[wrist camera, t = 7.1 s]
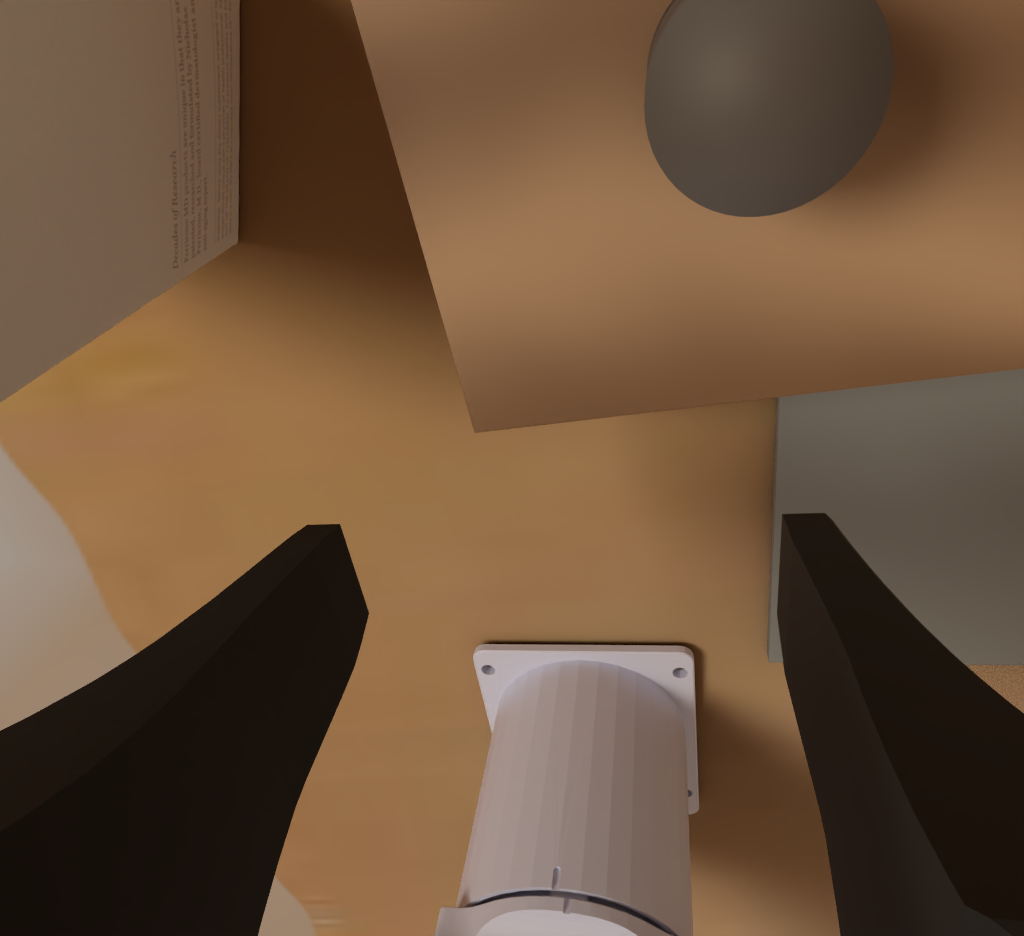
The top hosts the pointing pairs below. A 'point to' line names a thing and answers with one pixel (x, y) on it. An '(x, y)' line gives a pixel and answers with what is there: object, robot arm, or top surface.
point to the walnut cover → (708, 194)
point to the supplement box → (109, 164)
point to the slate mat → (918, 499)
